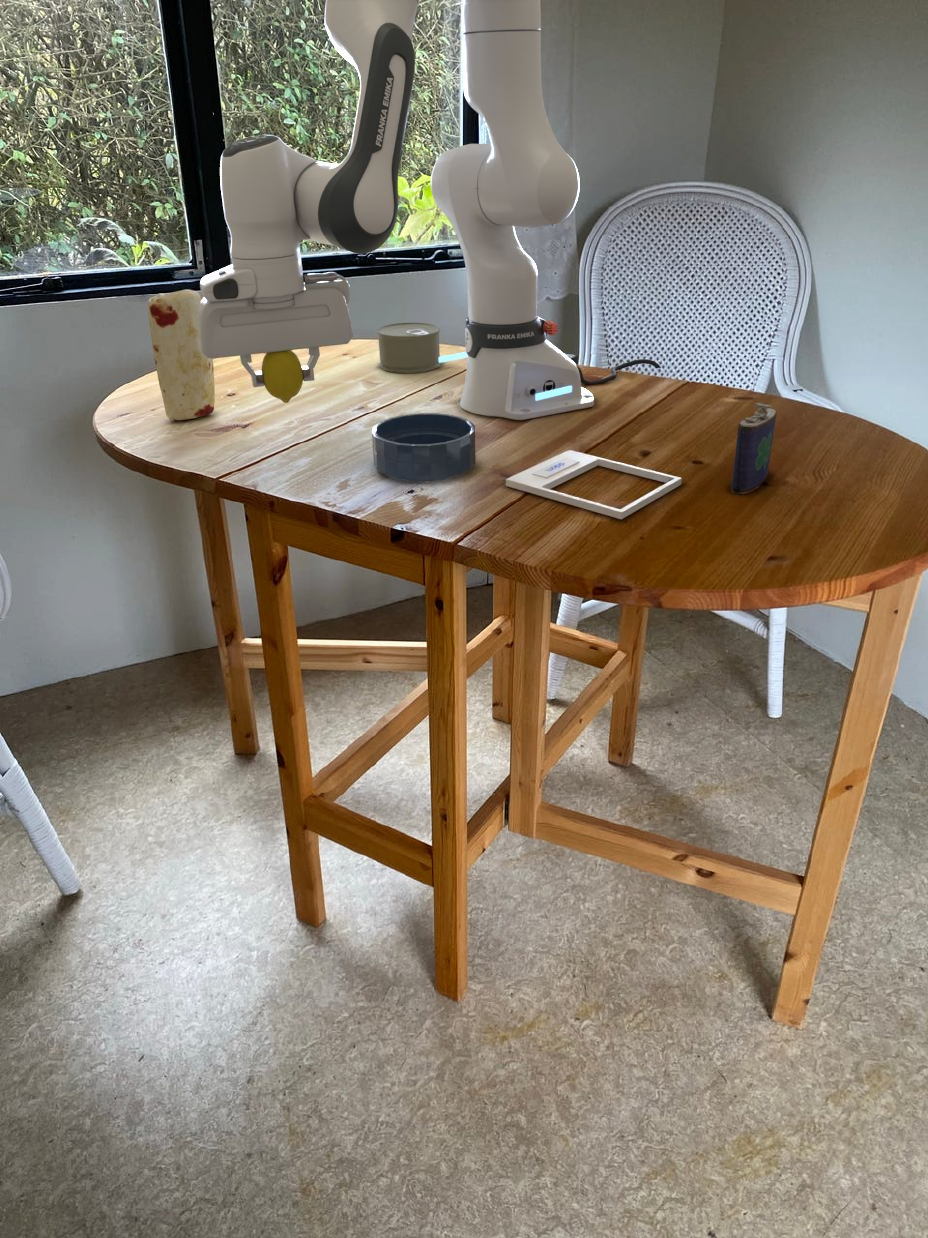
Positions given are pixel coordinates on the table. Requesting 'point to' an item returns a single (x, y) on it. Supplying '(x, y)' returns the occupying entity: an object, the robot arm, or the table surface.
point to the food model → (181, 355)
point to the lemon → (282, 374)
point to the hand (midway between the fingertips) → (283, 382)
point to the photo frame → (576, 463)
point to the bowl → (424, 446)
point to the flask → (753, 450)
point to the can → (409, 347)
